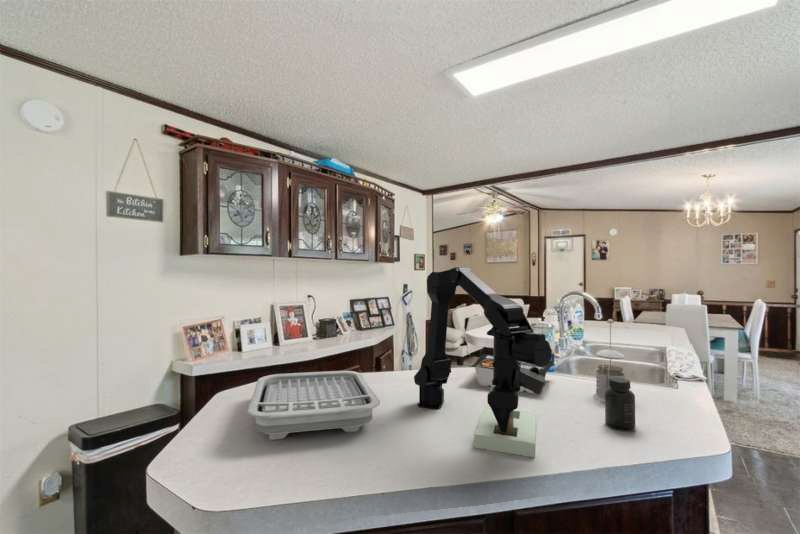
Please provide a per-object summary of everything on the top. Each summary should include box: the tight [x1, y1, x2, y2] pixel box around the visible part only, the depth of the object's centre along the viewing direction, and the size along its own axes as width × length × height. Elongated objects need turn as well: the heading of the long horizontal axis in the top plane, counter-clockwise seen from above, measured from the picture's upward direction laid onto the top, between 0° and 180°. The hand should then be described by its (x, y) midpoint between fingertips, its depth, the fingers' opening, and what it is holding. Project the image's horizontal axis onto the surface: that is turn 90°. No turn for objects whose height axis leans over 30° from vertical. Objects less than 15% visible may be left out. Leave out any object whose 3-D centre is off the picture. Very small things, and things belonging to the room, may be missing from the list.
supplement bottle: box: [604, 378, 636, 432], centre depth 99 cm, size 7×7×12 cm
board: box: [473, 404, 537, 458], centre depth 93 cm, size 20×13×3 cm, turn 160°
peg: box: [497, 410, 514, 436], centre depth 88 cm, size 4×4×10 cm
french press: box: [592, 318, 626, 403], centre depth 119 cm, size 10×12×25 cm
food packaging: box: [469, 353, 554, 395], centre depth 135 cm, size 25×8×23 cm
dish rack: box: [246, 370, 381, 441], centre depth 105 cm, size 32×37×8 cm
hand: (505, 424), depth 88 cm, fingers open, 9 cm apart
